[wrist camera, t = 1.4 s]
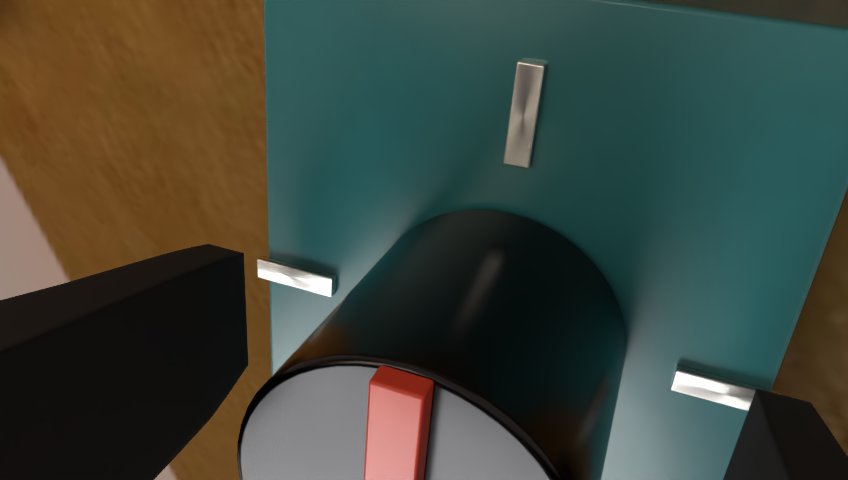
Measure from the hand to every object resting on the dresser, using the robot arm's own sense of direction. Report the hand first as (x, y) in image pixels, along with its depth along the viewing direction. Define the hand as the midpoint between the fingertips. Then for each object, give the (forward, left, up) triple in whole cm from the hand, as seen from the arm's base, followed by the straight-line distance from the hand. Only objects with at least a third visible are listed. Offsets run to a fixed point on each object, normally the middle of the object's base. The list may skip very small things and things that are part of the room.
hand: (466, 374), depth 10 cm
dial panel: (0, 0, -4) cm, 4 cm away
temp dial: (0, 0, -1) cm, 1 cm away
